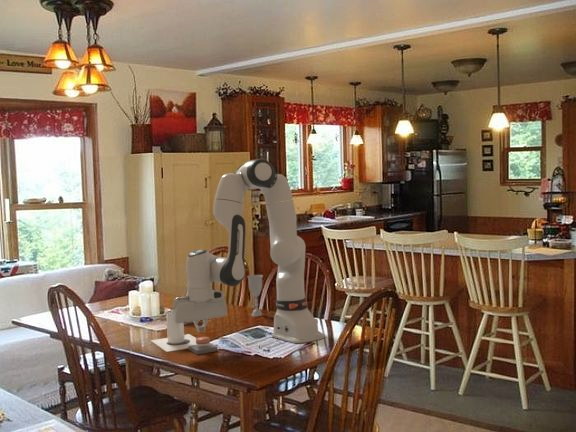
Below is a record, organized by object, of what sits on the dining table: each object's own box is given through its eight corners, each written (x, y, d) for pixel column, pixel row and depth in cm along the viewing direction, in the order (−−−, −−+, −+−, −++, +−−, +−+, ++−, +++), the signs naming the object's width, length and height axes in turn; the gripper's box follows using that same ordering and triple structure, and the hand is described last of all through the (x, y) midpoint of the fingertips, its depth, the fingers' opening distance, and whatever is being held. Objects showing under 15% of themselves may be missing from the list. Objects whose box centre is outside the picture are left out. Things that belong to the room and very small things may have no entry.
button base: (217, 350, 233) (217, 346, 233) (196, 354, 229) (196, 350, 229) (209, 346, 240) (209, 342, 240) (189, 349, 236) (189, 345, 236)
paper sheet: (207, 345, 242) (207, 343, 242) (166, 352, 234) (166, 351, 234) (188, 334, 259) (188, 333, 259) (150, 341, 251) (150, 340, 251)
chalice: (261, 312, 294) (259, 274, 293) (267, 315, 288) (265, 276, 287) (246, 314, 291) (244, 276, 290) (252, 317, 285) (250, 277, 284)
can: (181, 344, 243) (179, 313, 242) (165, 344, 244) (163, 313, 243) (187, 339, 249) (185, 309, 248) (171, 339, 250) (169, 309, 250)
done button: (211, 342, 233) (211, 338, 233) (198, 345, 231) (198, 341, 231) (206, 340, 238) (206, 336, 238) (194, 342, 235) (193, 338, 235)
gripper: (174, 299, 226) (176, 337, 227) (228, 292, 235) (229, 329, 236) (169, 296, 231) (171, 333, 232) (221, 289, 241) (223, 325, 242)
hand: (201, 331), depth 234 cm, fingers closed
